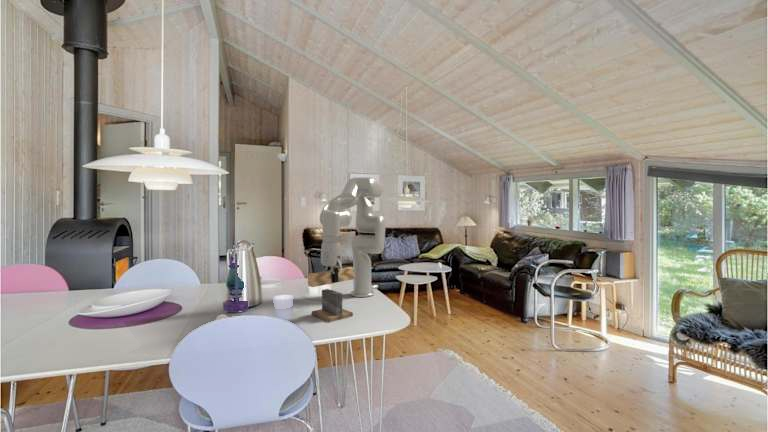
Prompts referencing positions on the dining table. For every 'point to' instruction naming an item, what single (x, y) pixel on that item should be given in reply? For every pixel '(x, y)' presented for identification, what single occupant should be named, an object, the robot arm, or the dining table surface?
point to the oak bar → (329, 277)
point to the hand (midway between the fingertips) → (332, 281)
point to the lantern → (234, 288)
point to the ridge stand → (331, 307)
